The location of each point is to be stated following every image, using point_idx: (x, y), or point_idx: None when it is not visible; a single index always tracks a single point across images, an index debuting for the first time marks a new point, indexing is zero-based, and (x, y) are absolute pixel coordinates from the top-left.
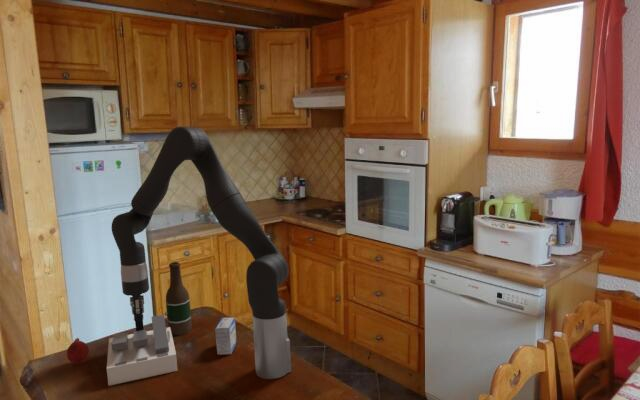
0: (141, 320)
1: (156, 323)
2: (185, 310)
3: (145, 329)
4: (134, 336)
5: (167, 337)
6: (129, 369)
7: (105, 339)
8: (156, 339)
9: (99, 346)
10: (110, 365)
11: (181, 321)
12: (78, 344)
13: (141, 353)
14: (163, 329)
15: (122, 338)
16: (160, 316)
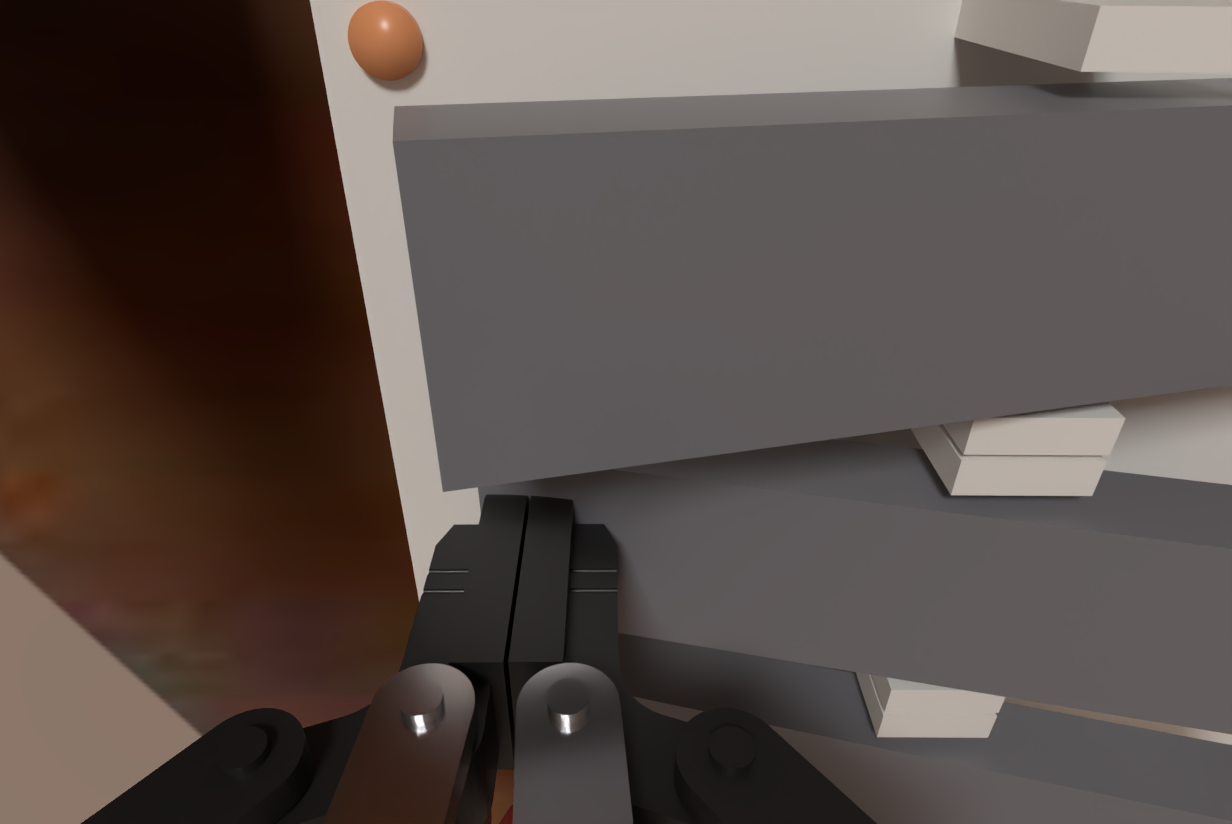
0: (561, 666)
1: (800, 357)
2: None
3: (611, 479)
4: (1058, 693)
5: (856, 35)
6: None
7: (130, 646)
8: None
9: (284, 679)
10: (1184, 734)
11: None
12: None
13: (1171, 477)
14: (1130, 178)
15: (997, 809)
16: (488, 253)
